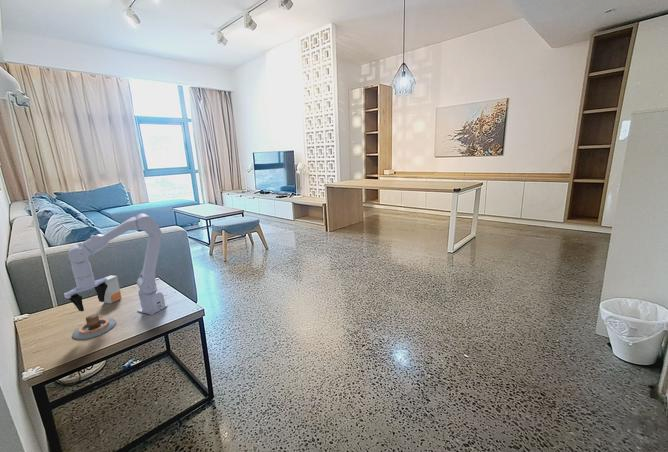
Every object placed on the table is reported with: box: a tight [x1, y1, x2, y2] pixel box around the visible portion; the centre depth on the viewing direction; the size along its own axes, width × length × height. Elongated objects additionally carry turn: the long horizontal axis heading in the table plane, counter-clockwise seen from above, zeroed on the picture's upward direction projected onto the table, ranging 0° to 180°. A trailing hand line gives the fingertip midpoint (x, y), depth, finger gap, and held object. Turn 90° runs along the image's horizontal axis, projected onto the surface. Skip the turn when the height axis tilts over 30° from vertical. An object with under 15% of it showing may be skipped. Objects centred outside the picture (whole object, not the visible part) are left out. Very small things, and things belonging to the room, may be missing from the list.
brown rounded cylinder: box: [85, 313, 101, 330], centre depth 118 cm, size 4×4×5 cm
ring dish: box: [71, 317, 117, 341], centre depth 118 cm, size 14×14×2 cm
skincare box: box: [103, 274, 122, 304], centre depth 140 cm, size 6×4×12 cm
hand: (91, 305), depth 118 cm, fingers open, 7 cm apart
